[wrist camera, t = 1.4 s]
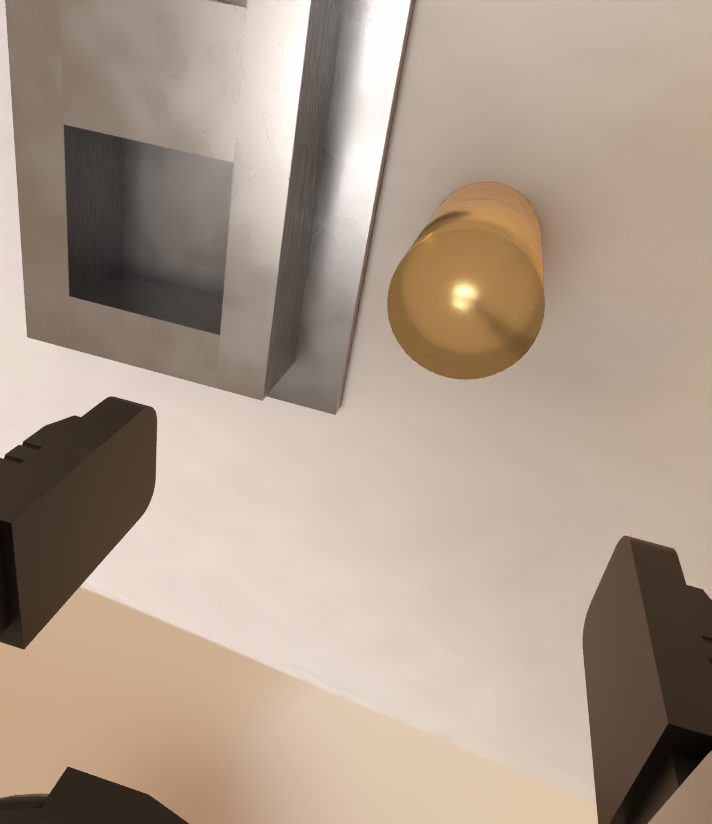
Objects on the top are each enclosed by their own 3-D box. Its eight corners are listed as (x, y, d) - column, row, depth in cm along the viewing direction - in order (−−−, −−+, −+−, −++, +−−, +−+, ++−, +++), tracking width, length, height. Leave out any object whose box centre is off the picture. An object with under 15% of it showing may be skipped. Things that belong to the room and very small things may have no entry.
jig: (483, -378, 19) (445, -730, 11) (339, 407, 32) (269, 529, 23) (15, -432, 21) (-332, -771, 13) (50, 330, 34) (-113, 417, 25)
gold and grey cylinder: (556, 195, 26) (565, 249, 18) (522, 304, 28) (518, 395, 20) (442, 171, 26) (404, 212, 18) (418, 279, 28) (374, 358, 20)
